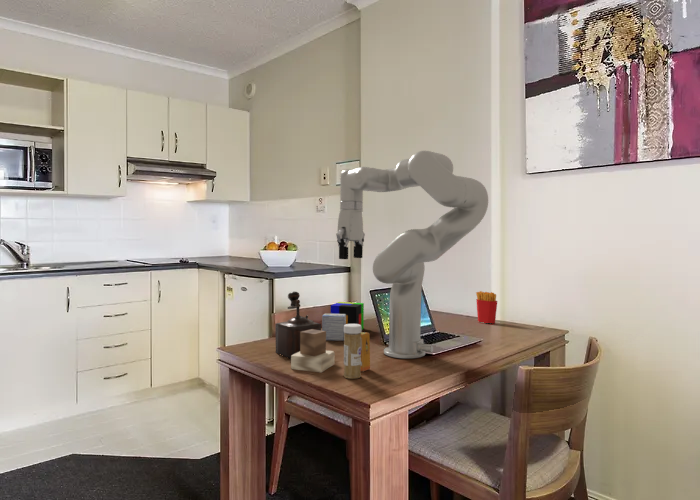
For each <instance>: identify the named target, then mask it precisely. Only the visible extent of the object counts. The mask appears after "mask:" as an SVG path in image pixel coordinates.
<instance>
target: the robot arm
mask: <svg viewBox="0 0 700 500" xmlns="http://www.w3.org/2000/svg"><path fill="white" fill-rule="evenodd" d="M339 184H340V185H339V187H340V191H339V193H340V195H339V197H340V200H339V201H340V202H339V203H340V204H339V214H338V219H337V231H336V232H337V233H335V237H336V239H337V241H336V242H337V245H338V259H339V260H348V259H349V246H348V244H349V243H350V242H353V245H354V246H353V258H354V259H363V251H364V249H363V247H364V242H365V236H366V233H365V232H364V221H363V212H364V210H363V208H364V207H363V203H364V202H363V200H364V198H363V197H364V191H365V192H366V191H367V192H377V193H388V192H389V193H390V192H395V191H396V192H397V191H401V190H406V189H408V188H413V187H414V188H415V187H420V188H421V189H422V190H423V191H424V192H425V193H427V194H428V195H429V196H430V197H431V198H432V199H433V200H434V201H435V202H436V203H438V204H439V205H442V206H444V207H447V208H452V209H451V210H448V211H447V212H446V213H444V214H442V215H440V217H439V218H438V219H437V220H436V221H434V222H433V223H432V224H431V225H429V226H428V227H426V228H413V229H408V230H405V231H403V232H402V233H400V234H399V235H397V236H396V238H394V239H393V240H392V241H391V242H390V243H389V244H388V245H387V246H386V247H385V248H384V249H382V250H381V251H380V252H379V253H378V254H377V256H376V257H375V259H374V261H373V263H372V273H373V275H374V277H375V279H376V280H377V281H378V282H380V283H382V284H385V285H386V284H387V285H388V284H389V285H390V284H391V288H390V291H389V308H388V309H389V311H388V313H389V315H388V317H389V319H388V323H389V324H388V325H389V326H388V329H389V330H388V333H389V335H388V346H387V347H385V348H384V349H383V354H384V355H386V356H387V357H391V358H395V359H419V358H423V357H424V356H425V355H426V353H432V352H433V351H434V346H433V345H432V344H429V343H428V344H427V343H424V339H423V338H421V324H422V323H421V322H422V321H421V320H422V319H421V316H422V315H421V314H422V312H421V310H422V289H423V288H422V287H423V281H424V276H425V263H431V262H433V261H436V260H438V259H439V258H440V257H442V256H444V254H445V253H447V252H448V251H449V250H450V249H451V248H453V247H454V246H455V245H456V244H457V243H458V242H459V241H461V239H463V238H465V237H466V236H467V235H469V234H470V233H471V232H472V231H473V230H474V229H476V227H477V226H479V224H480V223H481V222H482V220H483V219H484V217H485V215H486V213H487V210H488V206H489V194H488V190H487V189H486V186H485V185H484V184H483V183H482V182H481V181H479V180H477V179H474V178H472V177H467V176H466V177H465V176H461V175H456V174H454V164H453V161H452V160H451V159H450V157H449V156H448V155H445V154H443V153H440V152H434V151H431V150H420V151H417V152H415V153H414V154H413V155H412V156H411V157H410V158H405V159H402V160H400V161H399V162H398V163H397V164H396V167H394V168H388V169H386V168H385V169H381V168H376V167H369V166H360V167H356V168H354V169H344V170H342V171H341V172H340V183H339Z"/></svg>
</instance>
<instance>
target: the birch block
mask: <svg viewBox="0 0 700 500" xmlns="http://www.w3.org/2000/svg"><path fill="white" fill-rule="evenodd" d="M335 352H336V351H334V350H327V349H326V353H323V354H320V355H317V356H310V355H305V354H300V351H299V352H297V353H295V354H293V355H291V358H290V369H291V370H295V371H296V370H297V371H305V372H306V371H307V372H313V373H315V372H316V373H323V372H325V371H326V370H327V369H329V368H331V367H333V366H335V358H336V357H335Z"/></svg>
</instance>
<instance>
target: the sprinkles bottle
mask: <svg viewBox="0 0 700 500" xmlns="http://www.w3.org/2000/svg"><path fill="white" fill-rule="evenodd" d="M361 332H363V329H362V327H361V325H360V324H345V325H344V341H343V343H344V344H343V365H344V367H343V369H344V370H343V377H344V378H345V379H349V380H354V379H355V380H357V379H359V378H361V377H362V374H361V372H362V371H360V370H361V369H360V368H361V366H360V365H361Z"/></svg>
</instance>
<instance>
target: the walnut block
mask: <svg viewBox="0 0 700 500" xmlns="http://www.w3.org/2000/svg"><path fill="white" fill-rule="evenodd" d="M326 350H327V340H326V331H322V329H321V330H314V329H310V330H306V331H302V332H300V354H305V355H310V356H317V355H320V354H323V353H326Z"/></svg>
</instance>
